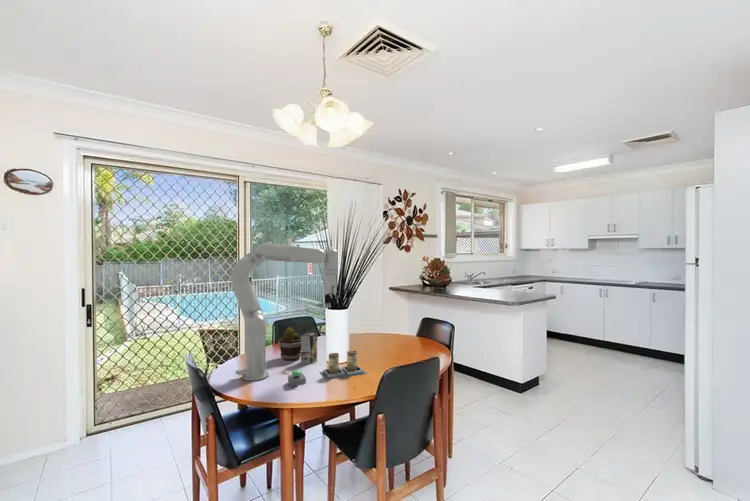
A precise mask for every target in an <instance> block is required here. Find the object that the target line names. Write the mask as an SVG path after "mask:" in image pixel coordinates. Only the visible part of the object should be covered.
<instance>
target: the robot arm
mask: <svg viewBox="0 0 750 501" xmlns="http://www.w3.org/2000/svg"><path fill="white" fill-rule="evenodd" d="M338 252H339V251H338V250H337V249H321V248H313V247H311V248H309V247H301V246H296V245H288V244H279V243H278V244H277V243H276V244H275V243H267V242H266V243H265V242H263V243H260V244H259V245H257V247H255V248H254V249H253V250H251V251H250V252H249V253H247V254H245V255H244V256H243V257H241V258H240V259H239V260H238V261H237V263H235V265H234V266H233V268H232V270H231V273H230V282H231V285H232V286H231V287H232V289H233V292H234V294H235V297H236V300H237V305H238V308H239V309H240V311H241V314H242V316H243V320H244V323H245V327H244V328H245V342H244V343H245V344H244V345H245V366H244V368H242V369H238V370H235V375H237V376H241V378H242V380H243V381H248V382H250V381H251V382H253V381H254V382H255V381H261V380H265V379H267V378H268V377H269V375H270V372H268V371H267V370H266V349H267V348H266V333H267V321H266V318H265V315H264V312H263V310H262V307H261V305H260V301H259V299H258V296H257V295H256V293H255V291H254V289H253V285H252V283H251V279H250V278H251V277H250V276H251V274H252V273H253V272H254V271H255V270H256V269H257V268H258V267H259V266H261V265H262V264H264V263H265V262H267V261H274V262H286V263H306V264H307V263H308V264H310V263H311V264H318V265H319V264H322V263H323V290H322V291H323V293H324V303H325V304H329V306H331V307H336V306H337V293H338V292H337V289H338V286H337V284H338V282H337V281H338V280H337V276H338V275H339V274H338V271H339V270H338V264H339V263H338V260H339V258H338V257H339V254H338Z"/></svg>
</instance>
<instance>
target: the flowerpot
mask: <svg viewBox="0 0 750 501" xmlns="http://www.w3.org/2000/svg"><path fill="white" fill-rule="evenodd" d="M277 344H278V347H279V349H280V358H281V359H282V361H288V362H289V361H290V362H293V361H297V360H299V359H301V335H300V333H297V332H296V331H295V329H294V328H293V326H289V327H288V328H286V329H285V331H284V335H283V337H281V338H279V340H278V342H277Z"/></svg>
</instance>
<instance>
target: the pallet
mask: <svg viewBox="0 0 750 501" xmlns="http://www.w3.org/2000/svg"><path fill="white" fill-rule="evenodd" d="M318 373H319V374H320V375H321V377H323V379H324V380H325V381H328V380H334V379H335V380H336V379H341V378H348V377H355V376H357V377H358V376H363V375H368V373H367V371H365V370H364V369H363V368H362V367H361V366H359V364H357V370H356V371H349V372H348V371H347V366H342V367H339V373H334V374H329V368H325V369H323V370H322V371H318Z"/></svg>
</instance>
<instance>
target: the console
mask: <svg viewBox="0 0 750 501" xmlns="http://www.w3.org/2000/svg"><path fill="white" fill-rule="evenodd" d="M287 383H288V385H289V388H292V389H293V388H297V387H298V385H303V384H306V383H307V378H306V376H305V375H304V373H302V374H301V375H299V377H298V378H295V376H293V375H292V374H289V375H287Z"/></svg>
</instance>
